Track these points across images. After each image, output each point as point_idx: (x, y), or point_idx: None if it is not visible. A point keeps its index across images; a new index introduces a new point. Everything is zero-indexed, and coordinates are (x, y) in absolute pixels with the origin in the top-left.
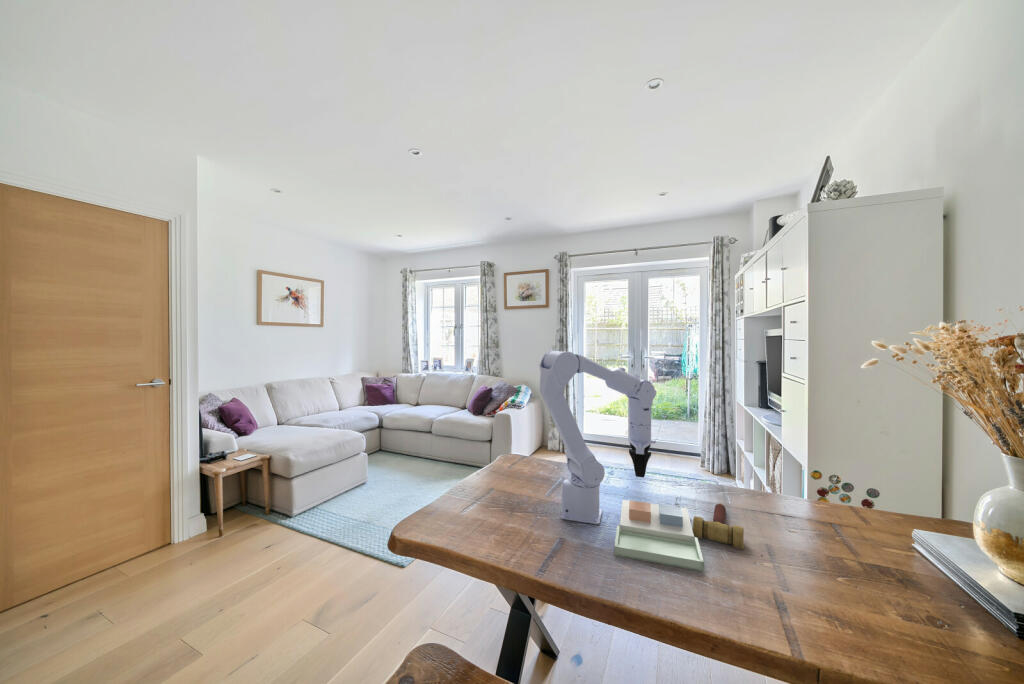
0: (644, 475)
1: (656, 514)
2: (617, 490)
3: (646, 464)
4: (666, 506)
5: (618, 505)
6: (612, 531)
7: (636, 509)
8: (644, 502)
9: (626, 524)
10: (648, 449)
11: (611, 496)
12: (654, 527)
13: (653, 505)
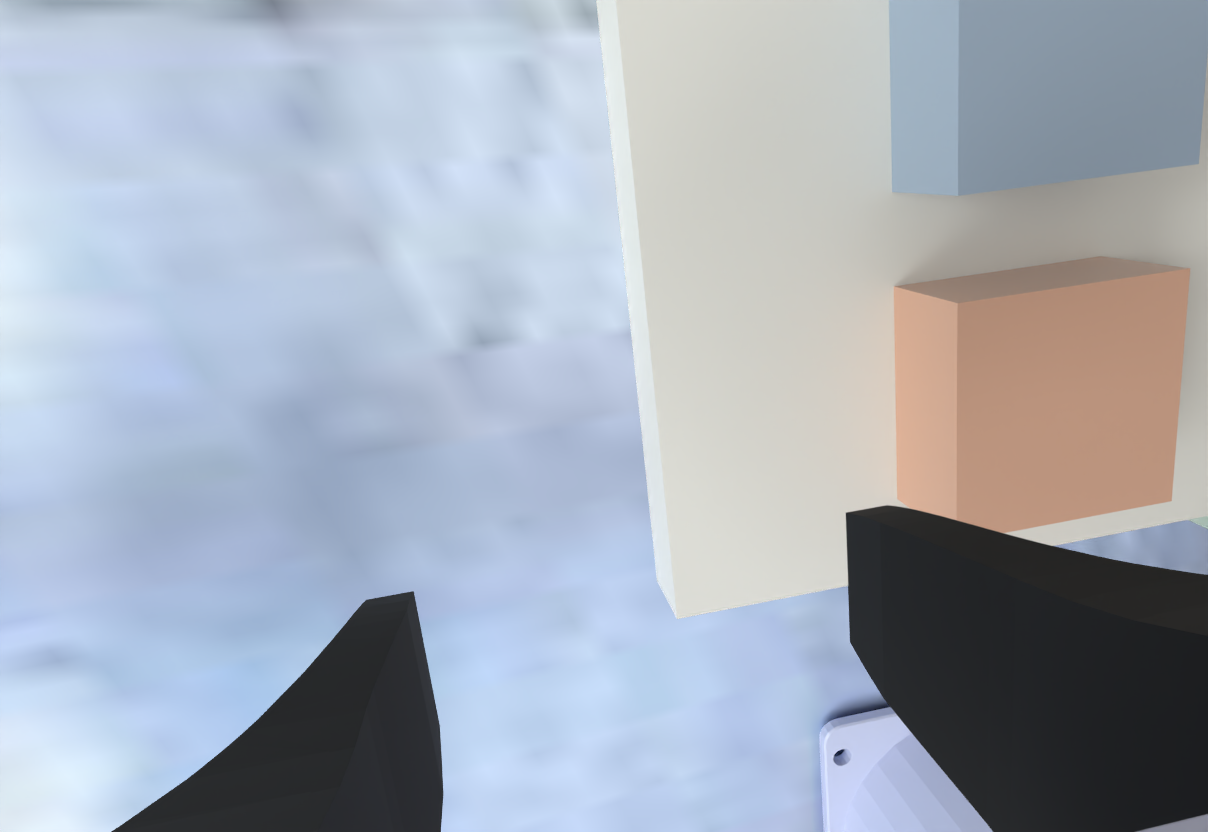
0: (914, 510)
1: (911, 217)
2: (237, 732)
3: (1167, 576)
4: (989, 92)
5: (634, 624)
6: (1134, 546)
7: (1163, 428)
8: (960, 373)
9: (1192, 464)
10: (329, 827)
11: (444, 740)
12: (1186, 210)
13: (686, 274)
